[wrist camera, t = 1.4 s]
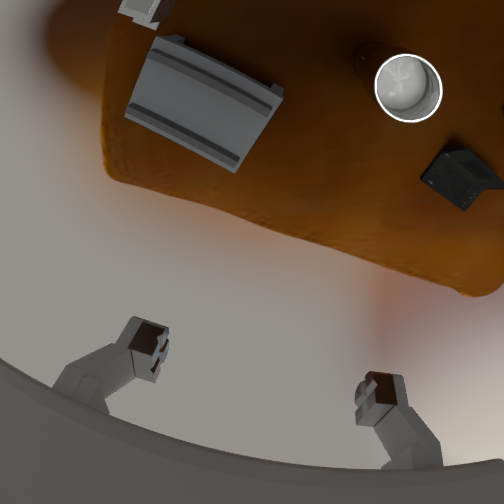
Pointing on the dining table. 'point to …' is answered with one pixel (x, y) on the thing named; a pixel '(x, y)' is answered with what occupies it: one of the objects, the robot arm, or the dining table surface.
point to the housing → (147, 11)
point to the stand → (201, 102)
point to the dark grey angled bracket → (460, 176)
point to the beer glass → (399, 81)
